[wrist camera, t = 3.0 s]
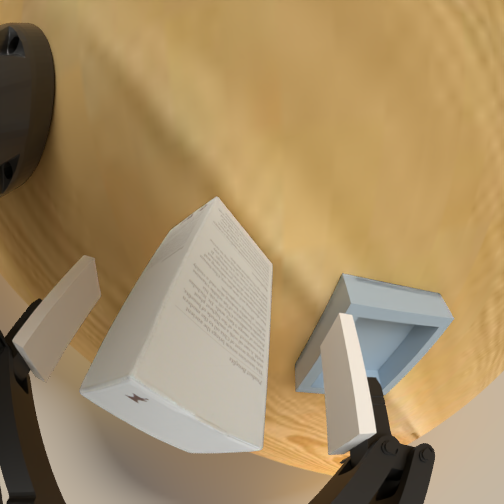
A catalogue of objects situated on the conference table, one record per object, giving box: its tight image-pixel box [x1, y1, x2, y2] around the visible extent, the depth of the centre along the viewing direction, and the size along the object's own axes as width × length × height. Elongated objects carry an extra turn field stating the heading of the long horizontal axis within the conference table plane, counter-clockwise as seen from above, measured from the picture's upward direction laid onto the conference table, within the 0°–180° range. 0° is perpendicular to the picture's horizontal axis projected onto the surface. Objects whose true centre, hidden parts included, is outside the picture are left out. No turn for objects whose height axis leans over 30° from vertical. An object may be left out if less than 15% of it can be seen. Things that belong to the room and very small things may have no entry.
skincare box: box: [79, 197, 273, 453], centre depth 12 cm, size 6×4×12 cm
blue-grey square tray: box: [295, 273, 454, 395], centre depth 20 cm, size 10×11×3 cm
